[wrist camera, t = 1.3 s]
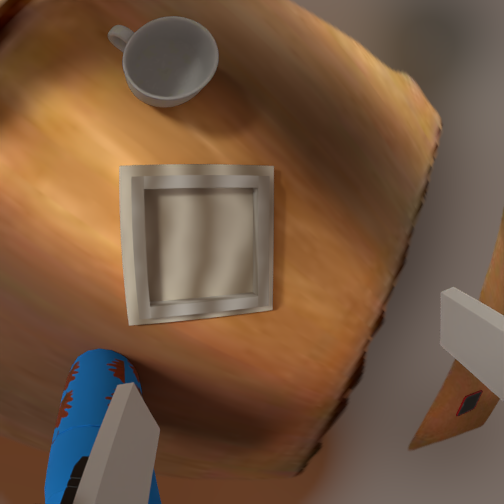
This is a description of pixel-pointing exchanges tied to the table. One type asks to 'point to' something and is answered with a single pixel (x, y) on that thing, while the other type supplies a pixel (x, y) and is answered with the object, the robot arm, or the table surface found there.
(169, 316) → the grey square tray
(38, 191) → the table surface
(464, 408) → the cell phone
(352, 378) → the table surface
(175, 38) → the teacup
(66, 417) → the thermos
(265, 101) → the table surface
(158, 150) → the table surface
